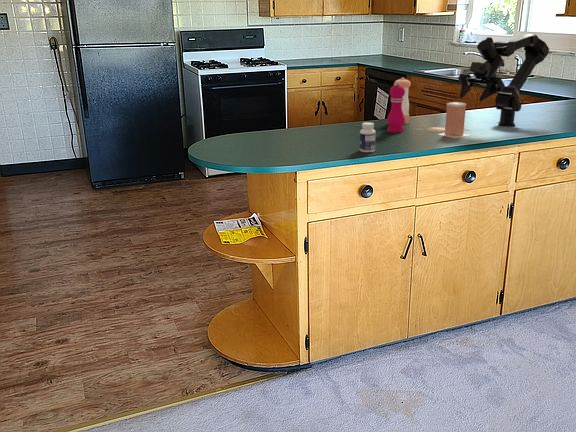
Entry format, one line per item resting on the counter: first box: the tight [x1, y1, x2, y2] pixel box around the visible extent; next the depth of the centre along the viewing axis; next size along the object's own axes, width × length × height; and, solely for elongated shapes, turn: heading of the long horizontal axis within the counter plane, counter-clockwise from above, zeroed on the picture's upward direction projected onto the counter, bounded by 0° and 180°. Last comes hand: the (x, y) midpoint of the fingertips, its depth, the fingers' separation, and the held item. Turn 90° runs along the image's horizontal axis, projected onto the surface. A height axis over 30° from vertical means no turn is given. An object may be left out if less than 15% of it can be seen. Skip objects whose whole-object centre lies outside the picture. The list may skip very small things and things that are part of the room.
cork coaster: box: [426, 126, 445, 134], centre depth 239 cm, size 10×10×1 cm
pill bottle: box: [359, 121, 376, 153], centre depth 206 cm, size 5×5×10 cm
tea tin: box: [444, 101, 467, 136], centre depth 228 cm, size 5×5×12 cm
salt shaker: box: [393, 77, 411, 125], centre depth 254 cm, size 7×7×19 cm
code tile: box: [437, 132, 469, 139], centre depth 230 cm, size 9×9×1 cm
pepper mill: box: [386, 81, 405, 133], centre depth 236 cm, size 7×7×20 cm
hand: (470, 99), depth 230 cm, fingers open, 9 cm apart
